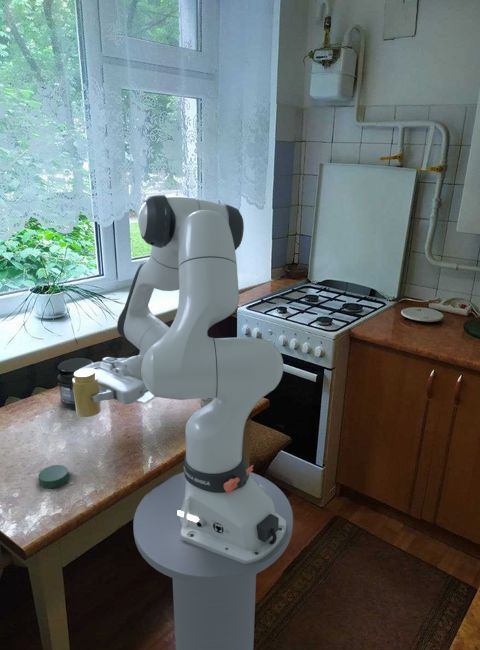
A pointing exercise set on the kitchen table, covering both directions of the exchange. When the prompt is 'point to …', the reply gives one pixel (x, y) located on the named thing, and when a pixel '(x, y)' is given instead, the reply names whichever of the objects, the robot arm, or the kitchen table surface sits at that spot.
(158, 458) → the kitchen table surface
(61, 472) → the jar lid
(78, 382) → the jam jar
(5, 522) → the kitchen table surface
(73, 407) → the supplement container
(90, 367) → the robot arm
